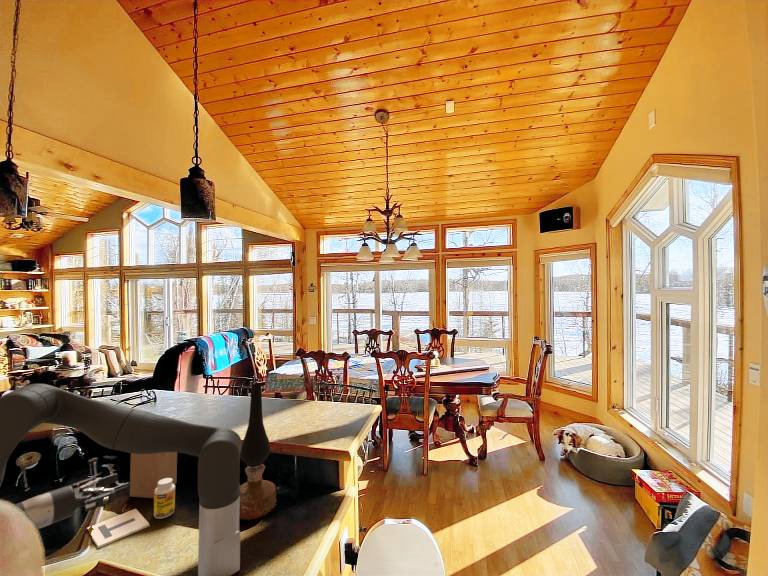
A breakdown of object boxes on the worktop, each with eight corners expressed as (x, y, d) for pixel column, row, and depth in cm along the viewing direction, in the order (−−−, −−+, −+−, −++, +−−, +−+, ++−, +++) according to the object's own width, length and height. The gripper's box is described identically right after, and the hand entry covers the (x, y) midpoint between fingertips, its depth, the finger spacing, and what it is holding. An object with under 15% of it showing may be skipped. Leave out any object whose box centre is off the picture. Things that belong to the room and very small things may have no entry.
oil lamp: (250, 502, 122) (244, 384, 130) (289, 501, 118) (280, 379, 125) (221, 521, 109) (216, 389, 116) (263, 521, 105) (255, 384, 112)
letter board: (149, 526, 104) (149, 523, 104) (98, 548, 94) (98, 546, 94) (135, 510, 111) (135, 508, 111) (87, 529, 102) (87, 527, 102)
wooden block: (156, 499, 118) (157, 438, 118) (128, 497, 119) (130, 437, 119) (177, 483, 127) (178, 427, 128) (151, 481, 129) (153, 426, 129)
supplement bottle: (153, 522, 106) (154, 487, 106) (153, 512, 110) (154, 479, 111) (175, 515, 109) (175, 482, 109) (174, 506, 113) (174, 474, 114)
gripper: (56, 503, 83) (134, 475, 97) (39, 484, 91) (114, 461, 105) (55, 535, 83) (133, 503, 97) (38, 514, 91) (113, 486, 105)
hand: (123, 481), depth 101 cm, fingers open, 8 cm apart
